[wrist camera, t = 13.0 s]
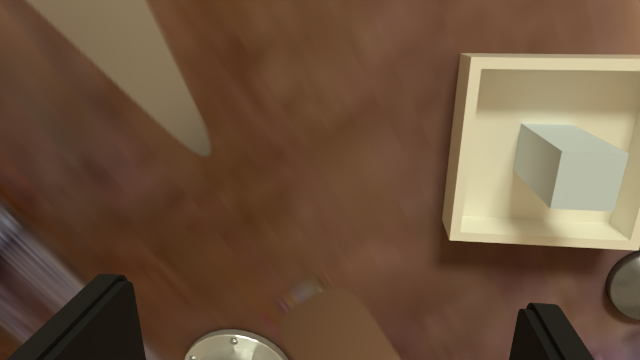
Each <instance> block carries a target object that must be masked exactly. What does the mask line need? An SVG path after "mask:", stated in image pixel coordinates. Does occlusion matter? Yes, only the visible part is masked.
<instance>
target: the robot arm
mask: <svg viewBox="0 0 640 360" xmlns="http://www.w3.org/2000/svg"><path fill="white" fill-rule="evenodd" d="M7 360H146V357H145V351H144V346H143V340H142V334H141V328H140V322H139V316H138V311H137V305H136V299H135V293H134V287H133V284H132V283H131V282H129V281H127V278H126V277H125V276H123V275H114V274H99V275H98V276H96V277H95V278H94V279H93V280H92V281H91V282H90V283H89V284H88V285H86V286H85V287H84V288H83V289H82V290H81V291H80V292H79V293H78V294H77V295H76V296H75V297H74V298H72V299H71V300H70V301H69V302H68V303H67V304H66V305H65V306H64V307H63V308H62V309H61V310H60V311H58V312H57V313H56V314H55V315H54V316H53V317H52V318H51V319H50V320H49V321H48V322H47V323H46V324H44V325H43V326H42V327H41V328H40V329H39V330H38V331H37V332H36V333H35V334H34V335H33V336H31V337H30V338H29V339H28V340H27V341H26V342H25V343H24V344H23V345H22V346H21V347H20V348H19V349H17V350H16V351H15V352H14V353H13V354H12V355H11V356H10V357H9V358H8V359H7ZM184 360H288V358H287V357H286V356H285V355H284V353H283V352H282V351H281V350H280V349H279V348H278V347H277V346H276V345H274V344H273V343H271V342H270V341H268V340H267V339H265V338H263V337H261V336H259V335H256V334H254V333H250V332H247V331H242V330H234V329H231V330H219V331H215V332H211V333H209V334H207V335H204V336H203V337H201V338H200V339H198V340H197V341H196V342H195V343H194V344H193V345H192V346H191V347H190V349H189V351H188V353H187V354H186V356H185V359H184ZM509 360H594V358H593V357H592V355H591V354H590V352H589V351H588V349H587V348H586V346H585V345H584V343H583V342H582V340H581V339H580V337H579V336H578V334H577V333H576V331H575V330H574V328H573V327H572V325H571V324H570V322H569V321H568V319H567V318H566V316H565V314H564V313H563V311H562V310H561V308H560V307H559V306H558V305H555V304H542V303H529V304H528V306H527V308H526V309H520V310H519V312H518V317H517V322H516V327H515V332H514V337H513V342H512V347H511V352H510V357H509Z"/></svg>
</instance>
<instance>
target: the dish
mask: <svg viewBox="0 0 640 360" xmlns="http://www.w3.org/2000/svg"><path fill="white" fill-rule="evenodd" d="M521 123H528V124H563V125H575V126H577V127H579V128H581V129H583V130H585V131H586V132H588V133H590V134H592V135H594V136H596V137H598V138H600V139H602V140H604V141H606V142H608V143H610V144H612V145H614V146H616V147H618V148H620V149H622V150H624V151H625V152H627V153H629V156H628V160H627V164H626V168H625V171H624V175H623V179H622V183H621V187H620V190H619V194H618V198H617V202H616V206H615V209H614V212H609V211H588V210H566V209H550V208H549V207H548V206H547V205H546V204H545V203H544V202H543V201H542V200H541V199H540V198H539V197H538V195H537V194H536V193H535V192H534V191H533V190H532V189H531V188H530V187H529V186H528V185H527V184H526V183H525V182H524V181H523V180H522V179H521V178H520V177H519V176H518V174H517V173H516V172H515V171H514V170H513V169H514V163H515V157H516V151H517V145H518V139H519V134H520V128H521ZM442 221H443V224H444V227H445V229H446V232H447V235H448V238H449V240H452V241H471V242H489V243H508V244H527V245H546V246H565V247H583V248H602V249H621V250H639V247H640V55H592V54H487V53H460V61H459V70H458V79H457V88H456V97H455V106H454V115H453V125H452V134H451V143H450V152H449V161H448V170H447V179H446V188H445V197H444V206H443V215H442Z"/></svg>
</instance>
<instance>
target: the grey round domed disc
mask: <svg viewBox="0 0 640 360" xmlns="http://www.w3.org/2000/svg"><path fill="white" fill-rule="evenodd" d="M606 291H607V295H608V297H609V299H610V300H611V301H612V303H613V304H614V305H615V306H616V307H617V309H618V310H619V311H620V312H622V313H623V314H624V315H626V316H628V317H631V318H633V319H637V320H640V250H638V251H635V252H633V253H630V254H629V255H627V256H625V257H624V258H622V259H621V260H620V261H618V262H617V263H616V264H615V266H614V267H613V268H612V269H611V271H610V273H609V275H608V277H607V281H606Z"/></svg>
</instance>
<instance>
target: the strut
mask: <svg viewBox="0 0 640 360" xmlns="http://www.w3.org/2000/svg"><path fill="white" fill-rule="evenodd" d="M628 156H629V153H627V152H625V151H624V150H622V149H620V148H618V147H616V146H614V145H612V144H610V143H608V142H606V141H604V140H602V139H600V138H598V137H596V136H594V135H592V134H590V133H588V132H586V131H585V130H583V129H581V128H579V127H577V126H575V125H563V124H528V123H521V128H520V134H519V139H518V145H517V151H516V157H515V163H514V169H513V170H514V171H515V172H516V173H517V174H518V176H519V177H520V178H521V179H522V180H523V181H524V182H525V183H526V184H527V185H528V186H529V187H530V188H531V189H532V190H533V191H534V192H535V193H536V194H537V195H538V197H539V198H540V199H541V200H542V201H543V202H544V203H545V204H546V205H547V206H548V207H549V208H550V209H566V210H588V211H609V212H614V209H615V206H616V202H617V198H618V194H619V190H620V187H621V183H622V179H623V175H624V171H625V168H626V164H627V160H628Z"/></svg>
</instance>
